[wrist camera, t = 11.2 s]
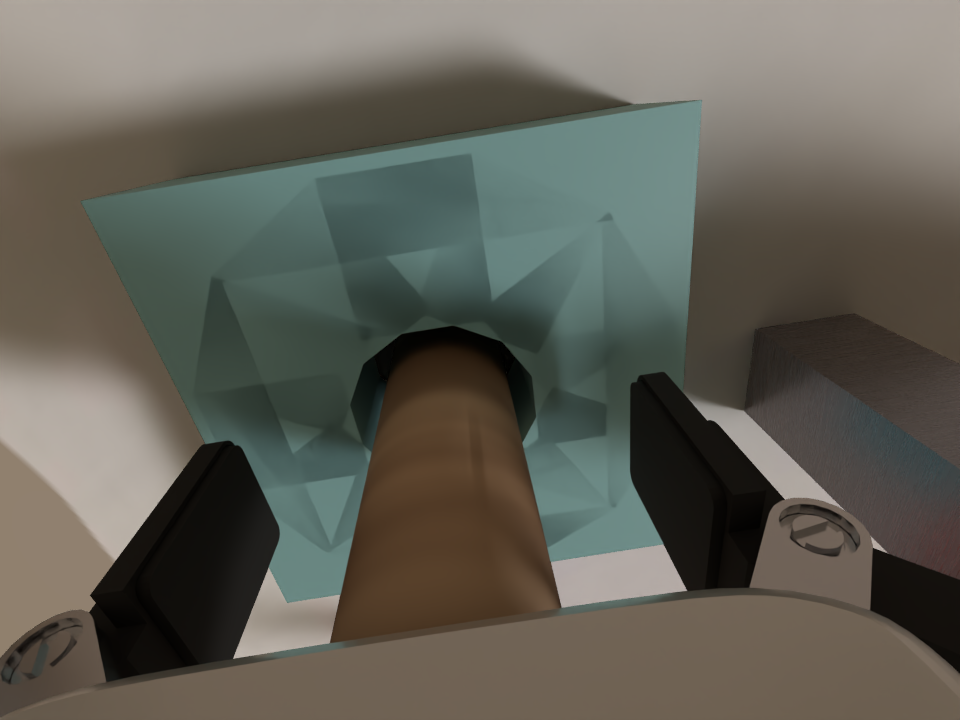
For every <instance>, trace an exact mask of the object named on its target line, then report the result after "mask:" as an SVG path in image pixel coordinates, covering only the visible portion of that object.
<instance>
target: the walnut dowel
mask: <svg viewBox="0 0 960 720" xmlns="http://www.w3.org/2000/svg"><path fill="white" fill-rule="evenodd" d="M558 608H561V603H560V599H559V595H558V591H557V587H556V582H555V578H554V574H553V570H552V565H551V561H550V557H549V553H548V549H547V544H546V540H545V536H544V532H543V528H542V523H541V519H540V515H539V511H538V506H537V502H536V498H535V494H534V490H533V485H532V481H531V477H530V473H529V469H528V464H527V460H526V456H525V452H524V447H523V443H522V439H521V435H520V431H519V426H518V422H517V418H516V414H515V410H514V405H513V401H512V397H511V393H510V388H509V384H508V380H507V376H506V372H505V367H504V363H503V359H502V355H501V350H500V346H499V342H498V340H495V339H492V338H489V337H486V336H483V335H480V334H477V333H475V332H472V331H469V330H466V329H463V328H460V327H457V326H447V327H441V328H435V329H429V330H422V331H416V332H410V333H404V334H401V335H399V336H398V337H397V339H396V343H395V348H394V353H393V357H392V362H391V366H390V371H389V375H388V380H387V385H386V389H385V394H384V398H383V403H382V407H381V412H380V417H379V421H378V426H377V430H376V435H375V439H374V444H373V449H372V453H371V458H370V462H369V467H368V471H367V476H366V481H365V485H364V490H363V494H362V499H361V503H360V508H359V513H358V517H357V522H356V526H355V531H354V535H353V540H352V545H351V549H350V554H349V558H348V563H347V567H346V572H345V577H344V581H343V586H342V590H341V595H340V599H339V604H338V609H337V613H336V618H335V622H334V627H333V632H332V636H331V641H330V643H336V642H342V641H348V640H355V639H361V638H368V637H374V636H381V635H387V634H393V633H400V632H406V631H413V630H419V629H426V628H432V627H439V626H445V625H452V624H458V623H465V622H471V621H478V620H485V619H491V618H498V617H505V616H511V615H518V614H525V613H532V612H538V611H545V610H552V609H558Z"/></svg>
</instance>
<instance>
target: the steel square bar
mask: <svg viewBox="0 0 960 720" xmlns="http://www.w3.org/2000/svg"><path fill="white" fill-rule="evenodd" d="M745 412H746V413H747V414H748V415H749V416H750V417H751V418H752V419H753V420H754V421H755V422H756V423H757V424H758V425H759V426H760V427H761V428H762V429H763V430H764V431H765V432H766V433H767V434H768V435H769V436H770V437H771V438H772V439H773V440H774V441H775V442H776V443H777V444H778V445H779V446H780V447H781V448H782V449H783V450H784V451H785V452H786V453H787V454H788V455H789V456H790V457H791V458H792V459H793V460H794V461H795V462H796V463H797V464H798V465H799V466H800V467H801V468H803V469H804V470H805V471H806V472H807V473H808V474H809V475H810V476H811V477H812V478H813V479H814V480H815V481H816V482H817V483H818V484H819V485H820V486H821V487H822V488H823V489H824V490H825V491H826V492H827V493H828V494H829V495H830V496H831V497H832V498H833V499H834V500H835V501H836V502H837V503H838V504H839V505H840V506H841V507H842V508H843V509H844V510H845V511H846V512H848V513H850V514H851V515H853V516H854V517H855V518H856V519H857V520H858V521H860V522H861V523H862V524H863V525H864V527H865V528H866V530H867V531H868V532H869V534H870V536H871V537H872V538H873V539H874V540H875V541H876V542H877V543H878V544H880V545H881V546H882V547H883V548H884V549H885V550H886V551H887V552H888V553H889V554H891V555H893V556H896V557H899V558H902V559H904V560H907V561H910V562H913V563H915V564H918V565H921V566H924V567H926V568H929V569H932V570H935V571H937V572H940V573H943V574H946V575H948V576H951V577H954V578H957V579H959V580H960V364H958V363H956V362H954V361H952V360H950V359H948V358H946V357H943V356H941V355H939V354H937V353H935V352H933V351H931V350H929V349H927V348H925V347H923V346H921V345H919V344H917V343H914V342H912V341H910V340H908V339H906V338H904V337H902V336H900V335H898V334H896V333H894V332H892V331H890V330H888V329H885V328H883V327H881V326H879V325H877V324H875V323H873V322H871V321H869V320H867V319H865V318H863V317H861V316H858V315H856V314H848V315H842V316H836V317H829V318H823V319H817V320H810V321H804V322H798V323H791V324H785V325H779V326H772V327H766V328H760V329H756V331H755V338H754V345H753V353H752V360H751V367H750V374H749V382H748V389H747V396H746V403H745Z"/></svg>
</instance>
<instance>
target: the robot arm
mask: <svg viewBox="0 0 960 720" xmlns="http://www.w3.org/2000/svg"><path fill="white" fill-rule="evenodd" d="M630 475H631V479H632V483H633V485H634V487H635V489H636V491H637V493H638V495H639V497H640V499H641V501H642V503H643V505H644V507H645V509H646V511H647V513H648V515H649V517H650V519H651V521H652V523H653V525H654V526H655V528H656V530H657V532H658V534H659V536H660V538H661V540H662V542H663V544H664V546H665V548H666V550H667V552H668V554H669V556H670V558H671V560H672V562H673V564H674V566H675V568H676V570H677V572H678V573H679V575H680V577H681V579H682V581H683V583H684V585H685V587H686V589H687V591H683V592H674V593H667V594H659V595H652V596H644V597H636V598H629V599H621V600H614V601H606V602H599V603H592V604H585V605H579V606H572V607H565V608H558V609H552V610H545V611H538V612H532V613H525V614H518V615H511V616H505V617H498V618H491V619H485V620H478V621H471V622H465V623H458V624H452V625H445V626H439V627H432V628H426V629H419V630H413V631H406V632H400V633H393V634H387V635H381V636H374V637H368V638H361V639H355V640H348V641H342V642H336V643H329V644H323V645H317V646H311V647H304V648H298V649H292V650H286V651H279V652H273V653H267V654H261V655H255V656H248V657H242V658H236V659H233V657H234V654H235V652H236V649H237V647H238V644H239V642H240V639H241V637H242V634H243V631H244V629H245V626H246V624H247V621H248V619H249V616H250V614H251V611H252V608H253V606H254V603H255V601H256V598H257V596H258V593H259V591H260V588H261V585H262V583H263V580H264V578H265V575H266V573H267V570H268V568H269V565H270V562H271V560H272V557H273V555H274V552H275V550H276V547H277V545H278V542H279V538H280V529H279V525H278V523H277V521H276V519H275V517H274V515H273V512H272V510H271V508H270V506H269V504H268V502H267V500H266V498H265V495H264V493H263V491H262V489H261V487H260V485H259V483H258V481H257V479H256V476H255V474H254V472H253V470H252V468H251V466H250V464H249V462H248V460H247V457H246V455H245V453H244V451H243V449H242V448H241V447H240V446H239V445H234V443H233V442H231V441H228V440H227V441H221V442H215V443H208V444H204V445H202V446H201V447H200V448H199V449H198V450H197V452H196V453H195V455H194V456H193V457H192V459H191V460H190V461H189V463H188V464H187V465H186V467H185V468H184V469H183V471H182V472H181V473H180V475H179V476H178V477H177V479H176V480H175V481H174V483H173V484H172V486H171V487H170V488H169V490H168V491H167V492H166V494H165V495H164V496H163V498H162V499H161V500H160V502H159V503H158V504H157V506H156V507H155V508H154V510H153V511H152V513H151V514H150V515H149V517H148V518H147V519H146V521H145V522H144V523H143V525H142V526H141V527H140V529H139V530H138V531H137V533H136V534H135V535H134V537H133V538H132V540H131V541H130V542H129V544H128V545H127V546H126V548H125V549H124V550H123V552H122V553H121V554H120V556H119V557H118V558H117V560H116V561H115V562H114V564H113V565H112V567H111V568H110V569H109V571H108V572H107V573H106V575H105V576H104V577H103V579H102V580H101V581H100V583H99V584H98V585H97V587H96V588H95V590H94V591H93V592H92V594H91V595H90V596H91V597H92V599H93V600H94V601H95V602H96V604H95V605H94V607H93V608H92V609H91V611H90V612H87V611H84V610H72V611H67V612H64V613H61V614H58V615H56V616H53V617H51V618H49V619H47V620H46V621H43V622H42V623H40V624H39V625H37V626H35V627H34V628H33V629H31V630H30V631H28V632H27V633H25V634H24V635H23V636H22V637H21V638H19V639H18V640H17V641H16V642H15V643H14V644H13V645H11V647H10V648H9V649H8V650H7V651H6V652H5V653H4V655H2V657H1V658H0V720H960V580H959V579H957V578H954V577H951V576H948V575H946V574H943V573H940V572H937V571H935V570H932V569H929V568H926V567H924V566H921V565H918V564H915V563H913V562H910V561H907V560H904V559H902V558H899V557H896V556H893V555H891V554H888V553H885V552H882V551H880V550H877V549H874V548H873V545H872V540H871V536H870V534H869V532H868V531H867V530H866V528H865V527H864V525H863V524H862V523H861V522H860V521H858V520H857V519H856V518H855V517H854V516H853V515H851V514H850V513H848V512H846V511H844V510H843V509H841V508H839V507H837V506H835V505H832V504H829V503H827V502H824V501H820V500H815V499H810V498H791V499H786V500H785V499H784V498H783V497H782V496H781V495H780V494H779V493H778V491H777V490H776V489H775V488H774V487H773V486H772V485H771V483H770V482H769V481H768V480H767V479H766V478H765V477H764V476H763V474H762V473H761V472H760V471H759V470H758V469H757V468H756V467H755V465H754V464H753V463H752V462H751V461H750V460H749V459H748V458H747V456H746V455H745V454H744V453H743V452H742V451H741V450H740V449H739V447H738V446H737V445H736V444H735V443H734V442H733V441H732V440H731V438H730V437H729V436H728V435H727V434H726V433H725V432H724V430H723V429H722V428H721V427H720V426H719V425H718V424H717V423H716V422H714V421H711V420H709V421H707V420H706V419H705V418H704V417H703V415H702V414H701V413H700V412H699V411H698V410H697V408H696V407H695V406H694V405H693V404H692V403H691V402H690V400H689V399H688V398H687V397H686V396H685V395H684V393H683V392H682V391H681V390H680V389H679V388H678V386H677V385H676V384H675V383H674V382H673V381H672V379H671V378H670V377H669V376H668V375H667V374H666V373H665V372H657V373H650V374H644V375H639V376H638V379H637V382H633V383H631V386H630Z"/></svg>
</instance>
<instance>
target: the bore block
mask: <svg viewBox="0 0 960 720" xmlns="http://www.w3.org/2000/svg"><path fill="white" fill-rule="evenodd" d="M701 105H702V100H693V101H678V102H662V103H647V104H633V105H627V106H621V107H615V108H609V109H603V110H596V111H590V112H584V113H578V114H572V115H566V116H560V117H553V118H547V119H541V120H535V121H529V122H523V123H517V124H510V125H504V126H498V127H492V128H486V129H480V130H474V131H467V132H461V133H455V134H449V135H443V136H437V137H431V138H424V139H418V140H412V141H406V142H400V143H394V144H387V145H381V146H375V147H369V148H363V149H357V150H351V151H344V152H338V153H332V154H326V155H320V156H314V157H308V158H301V159H295V160H289V161H283V162H277V163H271V164H265V165H258V166H252V167H246V168H240V169H234V170H228V171H222V172H215V173H209V174H203V175H197V176H191V177H185V178H179V179H173V180H169V181H165V182H160V183H156V184H152V185H147V186H143V187H139V188H134V189H130V190H126V191H121V192H117V193H113V194H108V195H104V196H100V197H96V198H91V199H87V200H83V201H81V203H82V205H83V207H84V209H85V211H86V213H87V215H88V217H89V219H90V221H91V223H92V225H93V227H94V229H95V230H96V232H97V234H98V236H99V238H100V240H101V242H102V244H103V246H104V248H105V250H106V252H107V254H108V256H109V258H110V260H111V262H112V263H113V265H114V267H115V269H116V271H117V273H118V275H119V277H120V279H121V281H122V283H123V285H124V287H125V289H126V291H127V293H128V295H129V297H130V298H131V300H132V302H133V304H134V306H135V308H136V310H137V312H138V314H139V316H140V318H141V320H142V322H143V324H144V326H145V328H146V330H147V331H148V333H149V335H150V337H151V339H152V341H153V343H154V345H155V347H156V349H157V351H158V353H159V355H160V357H161V359H162V361H163V363H164V364H165V366H166V368H167V370H168V372H169V374H170V376H171V378H172V380H173V382H174V384H175V386H176V388H177V390H178V392H179V394H180V396H181V398H182V399H183V401H184V403H185V405H186V407H187V409H188V411H189V413H190V415H191V417H192V419H193V421H194V423H195V425H196V427H197V429H198V431H199V432H200V434H201V436H202V438H203V440H204V442H205V444H208V443H215V442H221V441H227V440H228V441H231V442H233V443H234V445H239V446H240V447H241V448H242V449H243V451H244V453H245V455H246V457H247V460H248V462H249V464H250V466H251V468H252V470H253V472H254V474H255V476H256V479H257V481H258V483H259V485H260V487H261V489H262V491H263V493H264V495H265V498H266V500H267V502H268V504H269V506H270V508H271V510H272V512H273V515H274V517H275V519H276V521H277V523H278V525H279V529H280V538H279V542H278V545H277V547H276V550H275V552H274V555H273V557H272V560H271V562H270V565H269V568H270V570H271V572H272V574H273V576H274V578H275V580H276V582H277V584H278V586H279V588H280V590H281V592H282V594H283V596H284V598H285V600H286V601H287V603H289V602H295V601H302V600H308V599H315V598H321V597H328V596H334V595H340V594H341V590H342V586H343V581H344V577H345V572H346V567H347V563H348V558H349V554H350V549H351V545H352V540H353V535H354V531H355V526H356V522H357V517H358V513H359V508H360V503H361V499H362V494H363V490H364V485H365V481H366V476H367V471H368V467H369V462H370V458H371V453H372V449H373V444H374V439H375V435H376V430H377V426H378V421H379V417H380V412H381V407H382V403H383V398H384V394H385V389H386V385H387V383H386V382H385V381H384V380H383V379H382V378H381V377H380V375H379V372H378V368H377V364H376V361H375V357H374V355H375V354H377V353H378V352H379V351H380V350H382V349H383V348H384V347H386V346H387V345H388V344H389V343H391V342H392V341H393V340H394V339H396V338H397V337H398V336H399V335H401V334H404V333H410V332H416V331H422V330H429V329H435V328H441V327H447V326H457V327H460V328H463V329H466V330H469V331H472V332H475V333H477V334H480V335H483V336H486V337H489V338H492V339H495V340H498V341H501V342H503V343H504V344H505V346H506V347H507V348H508V349H509V350H510V351H511V353H512V354H513V355H514V356H515V357H516V358H515V360H514V362H513V364H512V366H511V368H510V370H509V373H508V375H507V380H508V384H509V388H510V393H511V397H512V401H513V405H514V410H515V414H516V418H517V422H518V426H519V431H520V435H521V439H522V443H523V447H524V452H525V456H526V460H527V464H528V469H529V473H530V477H531V481H532V485H533V490H534V494H535V498H536V502H537V506H538V511H539V515H540V519H541V523H542V528H543V532H544V536H545V540H546V544H547V549H548V553H549V557H550V561H551V562H553V561H559V560H566V559H572V558H578V557H585V556H591V555H598V554H604V553H611V552H617V551H623V550H630V549H636V548H643V547H649V546H656V545H662V544H663V542H662V540H661V538H660V536H659V534H658V532H657V530H656V528H655V526H654V525H653V523H652V521H651V519H650V517H649V515H648V513H647V511H646V509H645V507H644V505H643V503H642V501H641V499H640V497H639V495H638V493H637V491H636V489H635V487H634V485H633V483H632V479H631V475H630V386H631V383H633V382H637V379H638V376H639V375H644V374H650V373H657V372H665V373H666V374H667V375H668V376H669V377H670V378H671V379H672V381H673V382H674V383H675V384H676V385H677V386H678V388H679V389H680V390H681V391H682V392H683V386H684V370H685V355H686V339H687V323H688V308H689V292H690V277H691V261H692V245H693V230H694V214H695V198H696V183H697V167H698V152H699V136H700V120H701Z"/></svg>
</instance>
